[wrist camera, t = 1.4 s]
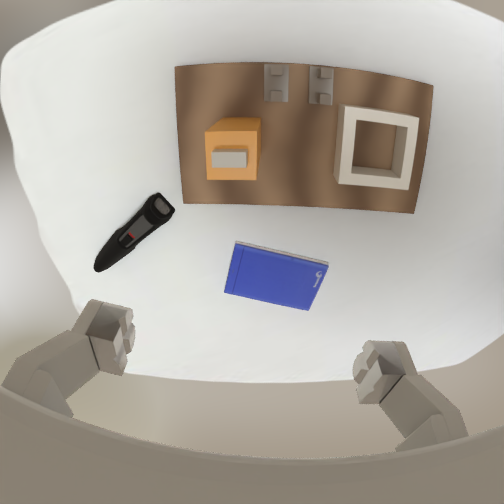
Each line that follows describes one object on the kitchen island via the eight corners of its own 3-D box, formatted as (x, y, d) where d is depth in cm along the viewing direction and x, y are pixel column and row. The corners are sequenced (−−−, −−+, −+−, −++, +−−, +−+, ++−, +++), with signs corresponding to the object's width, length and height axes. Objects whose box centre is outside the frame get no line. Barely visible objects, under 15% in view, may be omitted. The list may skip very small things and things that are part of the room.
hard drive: (329, 267, 39) (235, 244, 38) (308, 312, 43) (223, 293, 43) (327, 260, 40) (236, 238, 40) (307, 304, 45) (225, 286, 44)
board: (428, 84, 26) (448, 87, 22) (410, 209, 35) (424, 227, 31) (177, 67, 28) (163, 65, 24) (186, 199, 36) (175, 216, 32)
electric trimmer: (94, 250, 42) (85, 262, 39) (158, 188, 36) (149, 199, 34) (111, 267, 44) (103, 280, 41) (178, 210, 38) (170, 222, 35)
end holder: (407, 114, 28) (419, 118, 25) (398, 180, 32) (408, 190, 29) (338, 103, 28) (345, 106, 26) (333, 174, 32) (338, 183, 30)
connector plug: (261, 117, 30) (255, 134, 21) (260, 153, 32) (255, 185, 23) (222, 117, 30) (201, 134, 21) (223, 153, 32) (203, 184, 23)
